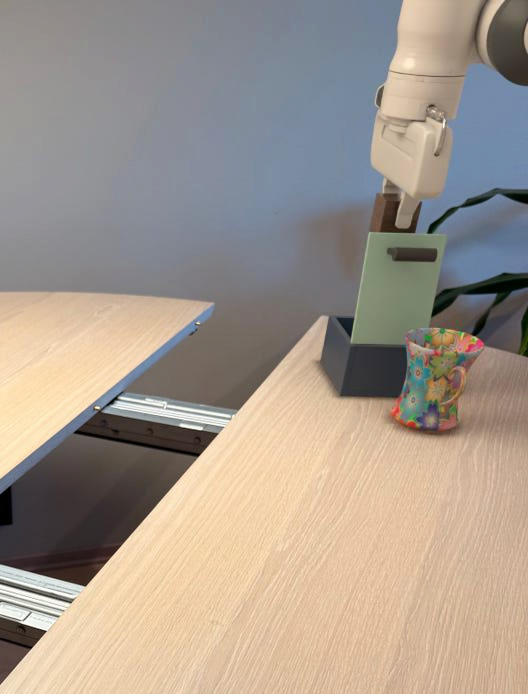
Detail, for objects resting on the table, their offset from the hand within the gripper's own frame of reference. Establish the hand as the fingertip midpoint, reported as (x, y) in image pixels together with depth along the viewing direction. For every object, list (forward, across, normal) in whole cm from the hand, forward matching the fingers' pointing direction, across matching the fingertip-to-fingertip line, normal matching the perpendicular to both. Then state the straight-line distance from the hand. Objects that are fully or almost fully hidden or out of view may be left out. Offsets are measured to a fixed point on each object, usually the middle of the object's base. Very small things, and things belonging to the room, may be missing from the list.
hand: (394, 221), depth 126 cm
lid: (+7, -7, 0) cm, 9 cm away
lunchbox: (+20, -2, 0) cm, 21 cm away
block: (+2, 0, 0) cm, 2 cm away
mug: (+21, -17, -4) cm, 27 cm away
